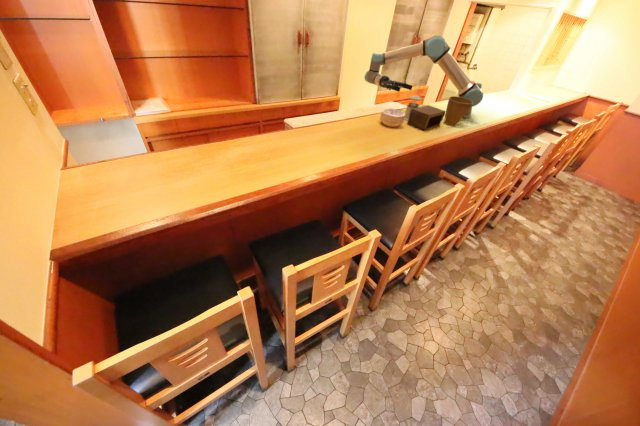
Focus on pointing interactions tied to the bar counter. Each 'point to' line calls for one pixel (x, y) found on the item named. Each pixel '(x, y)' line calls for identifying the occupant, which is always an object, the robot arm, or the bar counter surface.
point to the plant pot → (456, 109)
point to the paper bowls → (392, 117)
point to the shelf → (425, 117)
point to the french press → (412, 105)
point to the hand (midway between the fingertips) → (405, 88)
